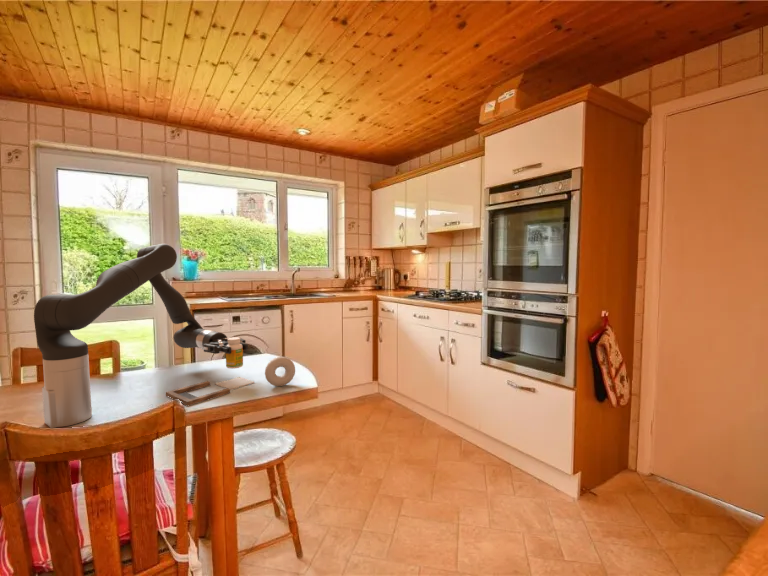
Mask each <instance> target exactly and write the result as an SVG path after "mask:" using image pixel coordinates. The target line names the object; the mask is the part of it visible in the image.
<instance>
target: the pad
mask: <svg viewBox="0 0 768 576" xmlns="http://www.w3.org/2000/svg"><path fill="white" fill-rule="evenodd" d="M249 384H250V385H252V384H255V381H253V380H251V379H250V380H249V379H246V378H244V377H241V376H238V377H237V376H236V377H233V378H231V379H227V380H223V381H220V382H216V383H215V385H216V386H218V387H221V388H223V389H227V388H228V389H230V391H231V390H232V389H233V390H237V389H239V387H240V388H242V387H243V388H244V387H246V386H249ZM233 390H232V391H233Z"/></svg>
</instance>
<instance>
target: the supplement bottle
mask: <svg viewBox="0 0 768 576" xmlns="http://www.w3.org/2000/svg"><path fill="white" fill-rule="evenodd" d="M227 338H228V345H227V346H229V347H231V354H227V353H225V366H226V368H227V369H240V368H242V367H243V366H244V350H243V346H242V344H240V338H241V337H237V336H235V337H234V336H232V337H227Z"/></svg>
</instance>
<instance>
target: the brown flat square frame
mask: <svg viewBox="0 0 768 576" xmlns="http://www.w3.org/2000/svg"><path fill="white" fill-rule="evenodd" d="M210 386H211V381H209V380H206V381H202V382H199V383H194V384H191V385H187V386H183V387H180V388H179V387H178V388H176V389H171V390H168V391H165V397H167V396H169V397H168V398H170V397H171V398H170V399H172V398H173V399H172V400H174V399H179V400H180V401H182V402H183V404H182V405H185V406H186V405H187V406H188V405H189V406H192V405H195V404H198V402H199V403H201V402H205V401H209V400H211V399H215V398H218V397H221V396H224V395H228V394H231V390H230V389H228V388H227V389H226V388H223V389H221V390H217V391H213V392H210V393H206V394H203V395H200V396H195V395H193V394H191V393H189V392H191V391H194V390H198V389H201V388H205V387H210ZM208 399H209V400H208ZM187 406H186V407H187ZM189 406H188V407H189Z"/></svg>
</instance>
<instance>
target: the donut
mask: <svg viewBox="0 0 768 576" xmlns="http://www.w3.org/2000/svg"><path fill="white" fill-rule="evenodd" d="M278 368H283V369H284V373H283V374H282V375H277V374H276V371H277V369H278ZM264 375H265V379H266V381H267V383H269V384H270V385H272V386H275V387H282V386H287V384H290V383H291V381H292V380H293V379H294V377H295V375H296V366H295V364H294V362H293V360H291V359H290V358H288V357H286V356H277V357H274V358H272V359H271V360H269V362H268V363H267V365H266V366H265V370H264Z"/></svg>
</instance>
